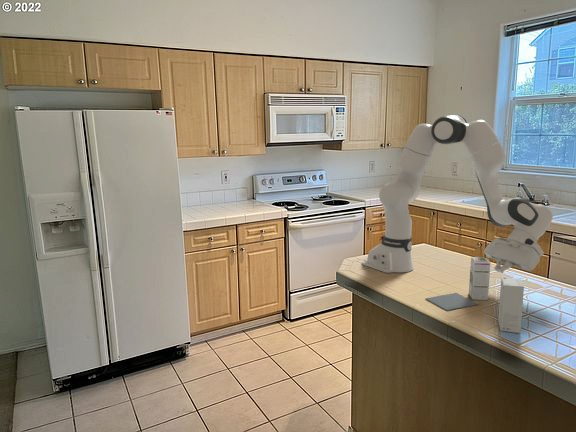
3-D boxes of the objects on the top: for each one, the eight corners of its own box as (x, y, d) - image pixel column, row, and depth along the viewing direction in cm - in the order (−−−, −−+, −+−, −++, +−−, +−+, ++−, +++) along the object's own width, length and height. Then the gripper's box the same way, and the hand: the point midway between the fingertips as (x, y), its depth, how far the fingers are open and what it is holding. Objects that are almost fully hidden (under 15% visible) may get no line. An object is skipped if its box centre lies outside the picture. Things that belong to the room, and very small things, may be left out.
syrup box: (488, 300, 156) (491, 261, 153) (470, 299, 157) (474, 261, 154) (484, 294, 162) (488, 257, 159) (467, 293, 163) (470, 256, 160)
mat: (425, 299, 158) (425, 298, 157) (456, 293, 163) (456, 292, 163) (446, 311, 148) (446, 309, 147) (478, 304, 153) (478, 303, 153)
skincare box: (520, 334, 131) (526, 287, 128) (498, 331, 133) (503, 285, 130) (517, 322, 139) (522, 278, 136) (496, 319, 141) (500, 276, 138)
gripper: (493, 231, 170) (472, 258, 169) (540, 243, 152) (517, 274, 150) (501, 241, 173) (480, 267, 171) (548, 254, 154) (525, 284, 153)
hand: (498, 270), depth 161 cm, fingers closed
